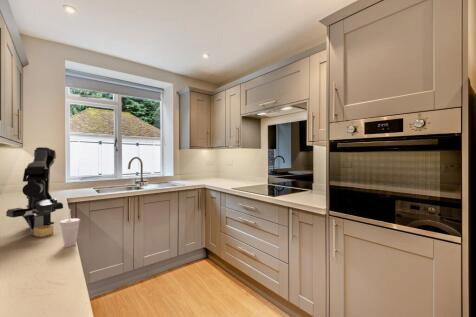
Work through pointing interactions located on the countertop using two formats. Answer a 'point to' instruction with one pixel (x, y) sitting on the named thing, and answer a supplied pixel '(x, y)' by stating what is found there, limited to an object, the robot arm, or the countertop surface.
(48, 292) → the countertop surface
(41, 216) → the plug
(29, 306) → the countertop surface
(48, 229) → the socket block
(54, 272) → the countertop surface
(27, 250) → the countertop surface
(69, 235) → the smoothie
